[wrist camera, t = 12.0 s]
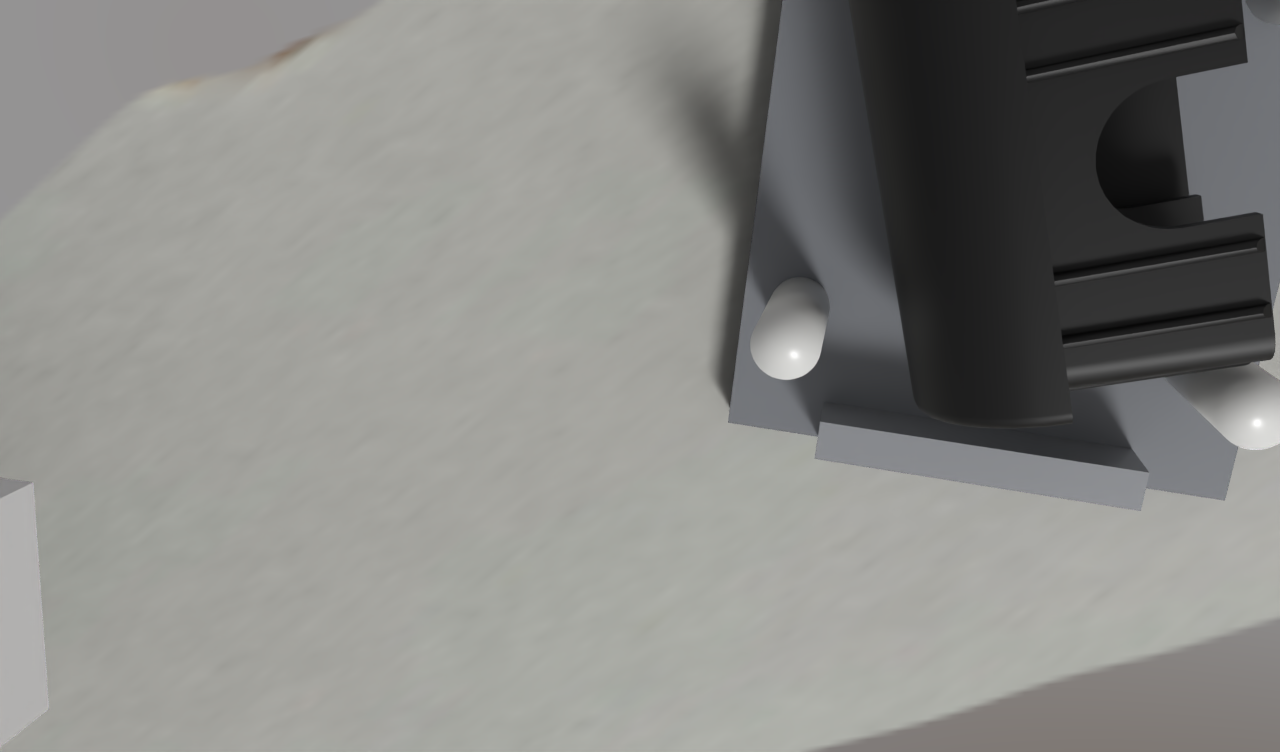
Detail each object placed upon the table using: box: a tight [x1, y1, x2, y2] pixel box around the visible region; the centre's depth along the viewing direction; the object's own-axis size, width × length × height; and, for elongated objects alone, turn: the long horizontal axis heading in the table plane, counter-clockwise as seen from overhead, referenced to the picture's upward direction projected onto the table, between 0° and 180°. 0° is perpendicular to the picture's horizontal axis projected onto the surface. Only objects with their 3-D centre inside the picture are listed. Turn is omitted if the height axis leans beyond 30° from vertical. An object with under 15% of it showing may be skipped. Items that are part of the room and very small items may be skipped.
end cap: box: [849, 0, 1275, 428], centre depth 25 cm, size 10×7×7 cm
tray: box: [728, 0, 1280, 511], centre depth 27 cm, size 13×16×6 cm
